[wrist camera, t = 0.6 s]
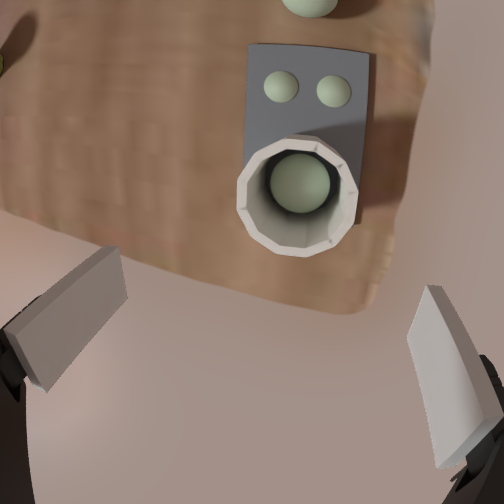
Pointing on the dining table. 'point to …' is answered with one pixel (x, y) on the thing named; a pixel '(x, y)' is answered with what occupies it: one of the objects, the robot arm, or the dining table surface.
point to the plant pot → (0, 64)
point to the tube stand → (302, 141)
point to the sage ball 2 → (300, 183)
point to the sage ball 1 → (310, 7)
